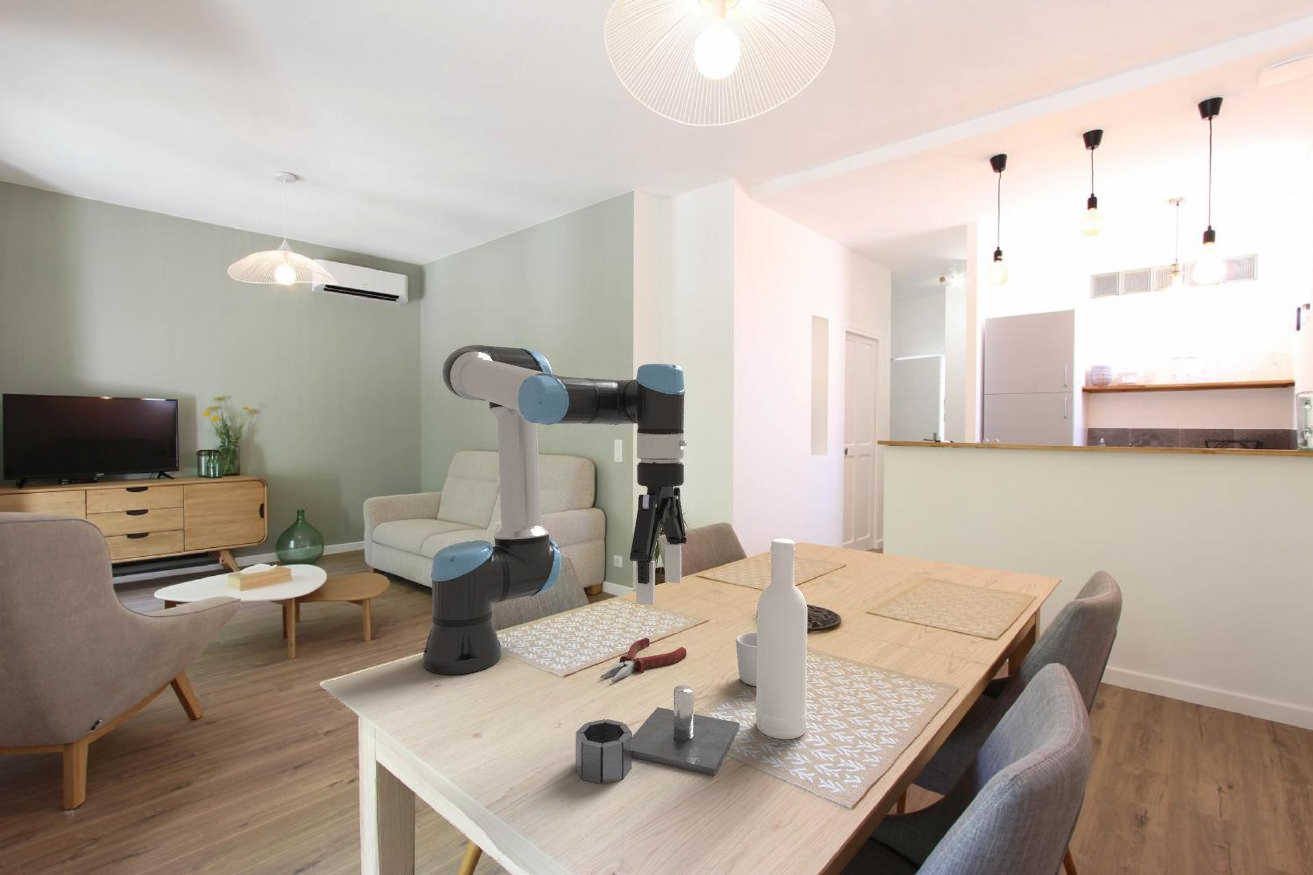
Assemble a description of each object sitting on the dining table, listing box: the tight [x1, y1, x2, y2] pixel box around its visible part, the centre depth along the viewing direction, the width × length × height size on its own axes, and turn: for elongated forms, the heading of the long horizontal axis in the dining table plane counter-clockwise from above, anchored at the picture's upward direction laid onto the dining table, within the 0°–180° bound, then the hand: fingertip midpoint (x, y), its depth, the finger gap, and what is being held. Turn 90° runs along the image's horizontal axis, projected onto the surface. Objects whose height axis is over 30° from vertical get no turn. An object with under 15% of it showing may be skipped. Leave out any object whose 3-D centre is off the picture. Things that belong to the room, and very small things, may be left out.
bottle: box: [755, 538, 808, 740], centre depth 98 cm, size 8×8×30 cm
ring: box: [575, 718, 633, 785], centre depth 87 cm, size 7×7×5 cm
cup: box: [735, 632, 757, 687], centre depth 115 cm, size 11×8×8 cm
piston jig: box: [632, 684, 741, 777], centre depth 94 cm, size 14×14×8 cm
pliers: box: [599, 637, 688, 682], centre depth 123 cm, size 12×20×3 cm, turn 145°
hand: (660, 592), depth 99 cm, fingers open, 13 cm apart
